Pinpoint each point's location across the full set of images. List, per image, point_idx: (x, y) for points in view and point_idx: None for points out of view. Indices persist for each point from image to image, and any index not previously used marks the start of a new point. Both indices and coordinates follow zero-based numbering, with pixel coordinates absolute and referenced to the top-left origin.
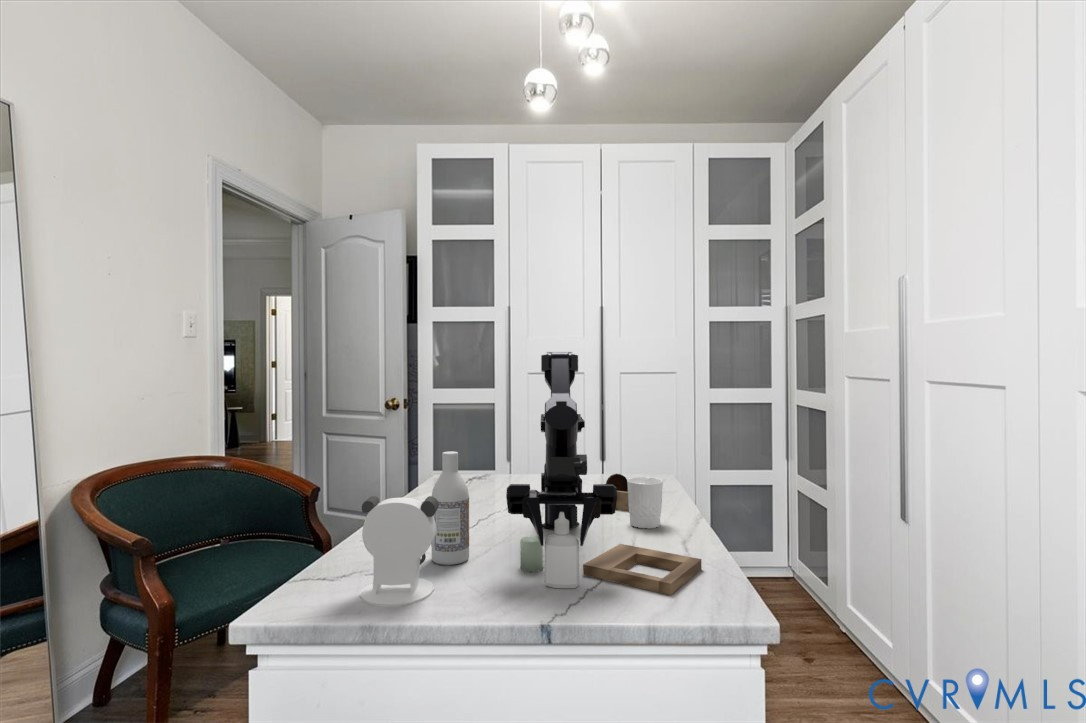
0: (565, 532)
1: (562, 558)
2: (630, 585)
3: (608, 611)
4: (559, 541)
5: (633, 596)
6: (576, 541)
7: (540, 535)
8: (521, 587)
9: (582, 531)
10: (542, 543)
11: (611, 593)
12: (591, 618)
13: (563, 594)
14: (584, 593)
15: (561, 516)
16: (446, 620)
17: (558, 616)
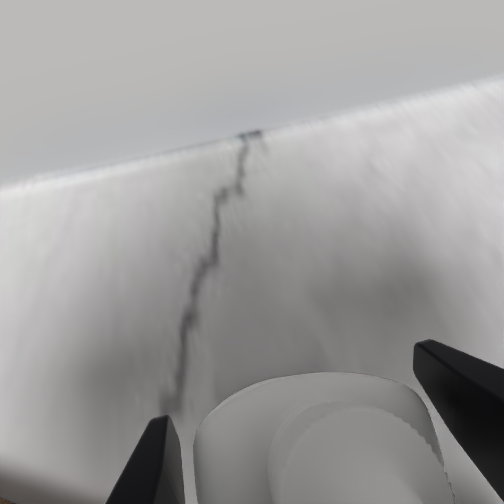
0: (287, 417)
1: (281, 377)
2: (5, 500)
3: (96, 242)
4: (314, 374)
5: (6, 383)
6: (202, 436)
7: (467, 359)
8: None
9: (138, 487)
10: (417, 345)
11: (87, 389)
12: (141, 190)
13: (254, 331)
14: (185, 361)
15: (382, 485)
16: (477, 104)
17: (230, 181)
